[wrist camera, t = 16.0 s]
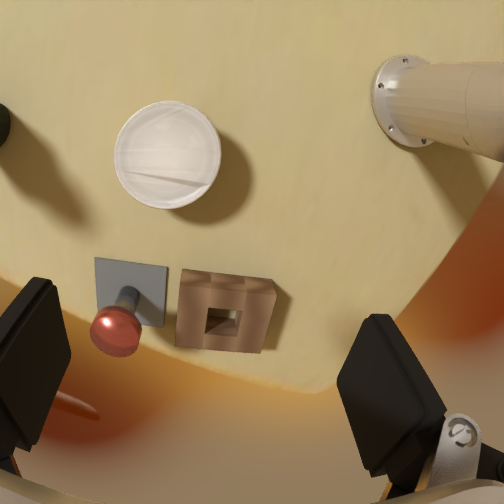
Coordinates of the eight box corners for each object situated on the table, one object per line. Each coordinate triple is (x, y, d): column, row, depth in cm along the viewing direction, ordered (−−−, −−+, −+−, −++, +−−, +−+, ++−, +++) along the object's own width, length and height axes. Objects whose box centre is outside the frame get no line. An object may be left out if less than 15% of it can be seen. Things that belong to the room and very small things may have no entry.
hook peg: (108, 273, 40) (87, 314, 31) (151, 279, 41) (137, 322, 33) (110, 309, 42) (92, 352, 34) (150, 315, 43) (139, 360, 35)
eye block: (271, 279, 43) (277, 295, 40) (256, 335, 47) (260, 353, 44) (182, 268, 41) (179, 284, 37) (176, 328, 45) (174, 346, 42)
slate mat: (167, 266, 41) (166, 267, 40) (163, 326, 45) (163, 327, 44) (95, 257, 39) (94, 258, 39) (98, 316, 43) (98, 318, 43)
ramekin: (147, 209, 37) (138, 225, 32) (112, 126, 32) (96, 129, 27) (234, 176, 37) (237, 187, 32) (201, 87, 32) (200, 84, 27)
